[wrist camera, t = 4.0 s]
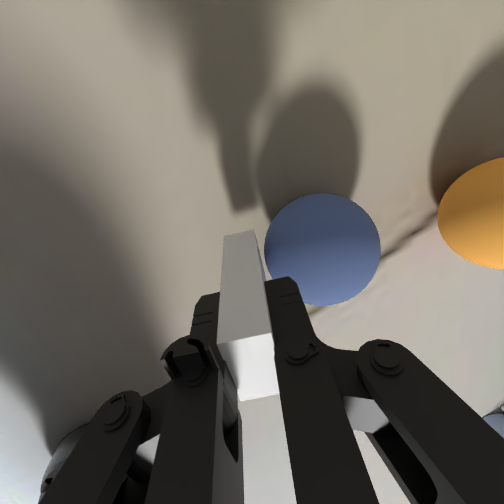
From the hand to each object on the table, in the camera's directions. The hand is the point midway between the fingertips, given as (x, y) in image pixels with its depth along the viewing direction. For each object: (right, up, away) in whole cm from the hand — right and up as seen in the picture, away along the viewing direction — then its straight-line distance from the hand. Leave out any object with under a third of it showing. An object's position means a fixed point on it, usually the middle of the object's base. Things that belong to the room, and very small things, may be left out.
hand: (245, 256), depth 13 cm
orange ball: (+13, +2, 0) cm, 13 cm away
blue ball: (+4, 0, 0) cm, 4 cm away
